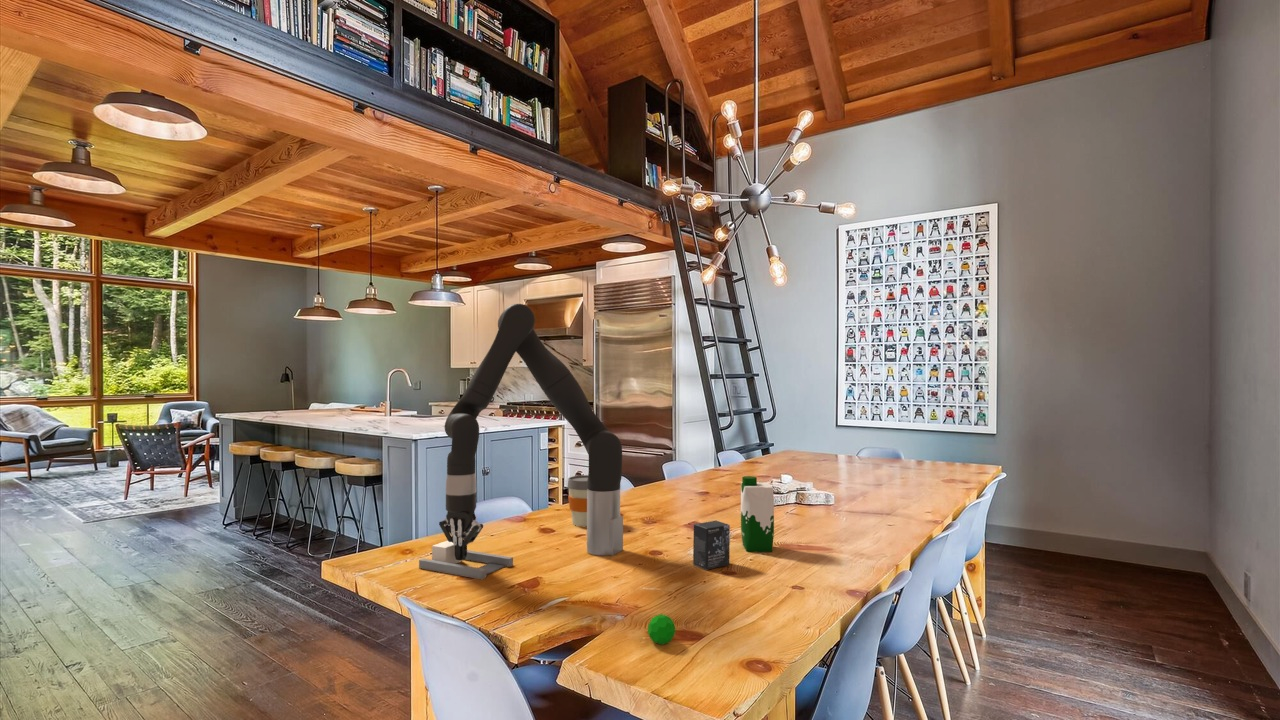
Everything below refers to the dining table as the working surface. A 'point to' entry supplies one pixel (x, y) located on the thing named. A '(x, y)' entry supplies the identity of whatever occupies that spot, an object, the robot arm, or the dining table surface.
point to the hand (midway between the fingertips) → (460, 559)
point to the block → (444, 552)
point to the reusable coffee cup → (578, 499)
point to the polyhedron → (661, 629)
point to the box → (711, 545)
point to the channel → (479, 573)
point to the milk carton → (757, 515)
